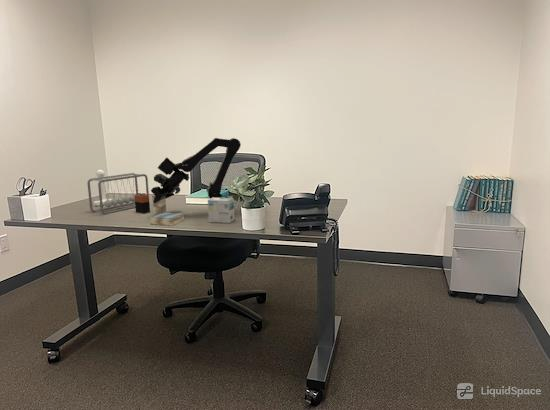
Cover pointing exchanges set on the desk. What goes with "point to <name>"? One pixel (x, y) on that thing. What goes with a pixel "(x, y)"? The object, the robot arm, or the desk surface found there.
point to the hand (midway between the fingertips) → (156, 201)
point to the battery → (142, 203)
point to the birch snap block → (159, 206)
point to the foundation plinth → (167, 219)
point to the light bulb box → (221, 210)
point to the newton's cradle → (114, 201)
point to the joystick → (101, 174)
